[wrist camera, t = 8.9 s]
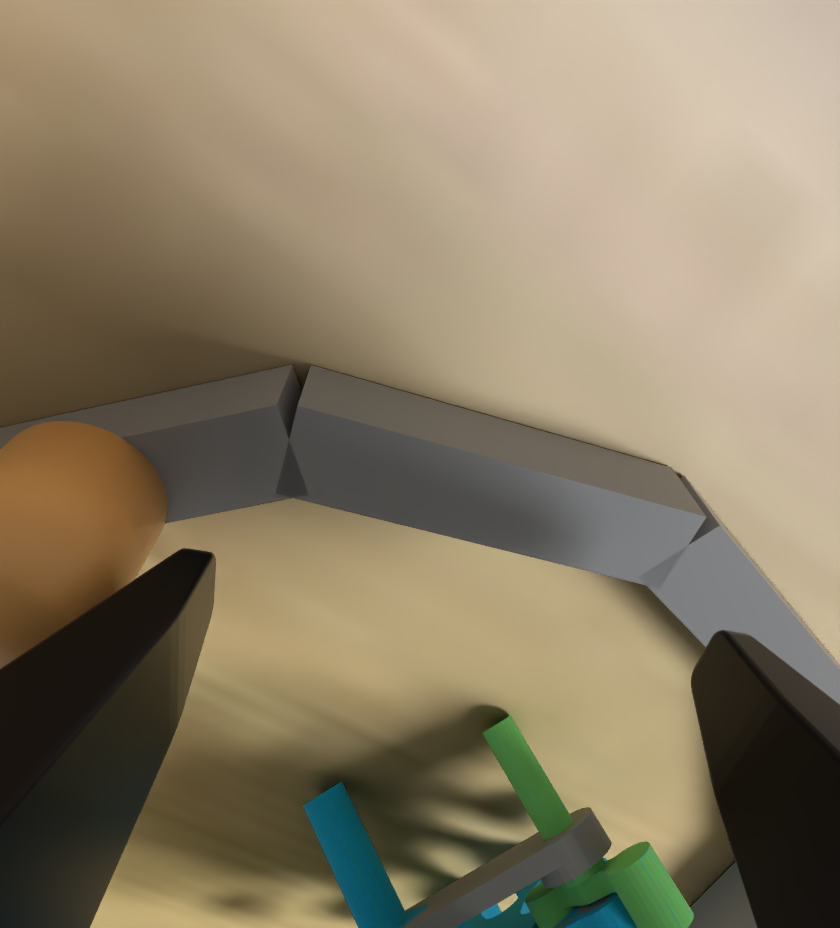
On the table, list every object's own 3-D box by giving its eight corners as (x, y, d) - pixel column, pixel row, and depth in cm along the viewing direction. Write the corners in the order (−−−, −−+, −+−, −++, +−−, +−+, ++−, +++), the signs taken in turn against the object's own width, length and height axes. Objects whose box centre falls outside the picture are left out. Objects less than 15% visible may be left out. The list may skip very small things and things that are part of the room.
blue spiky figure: (359, 1030, 19) (82, 1457, 9) (271, 828, 21) (-31, 1015, 11) (692, 843, 17) (755, 1137, 8) (561, 642, 19) (485, 684, 10)
